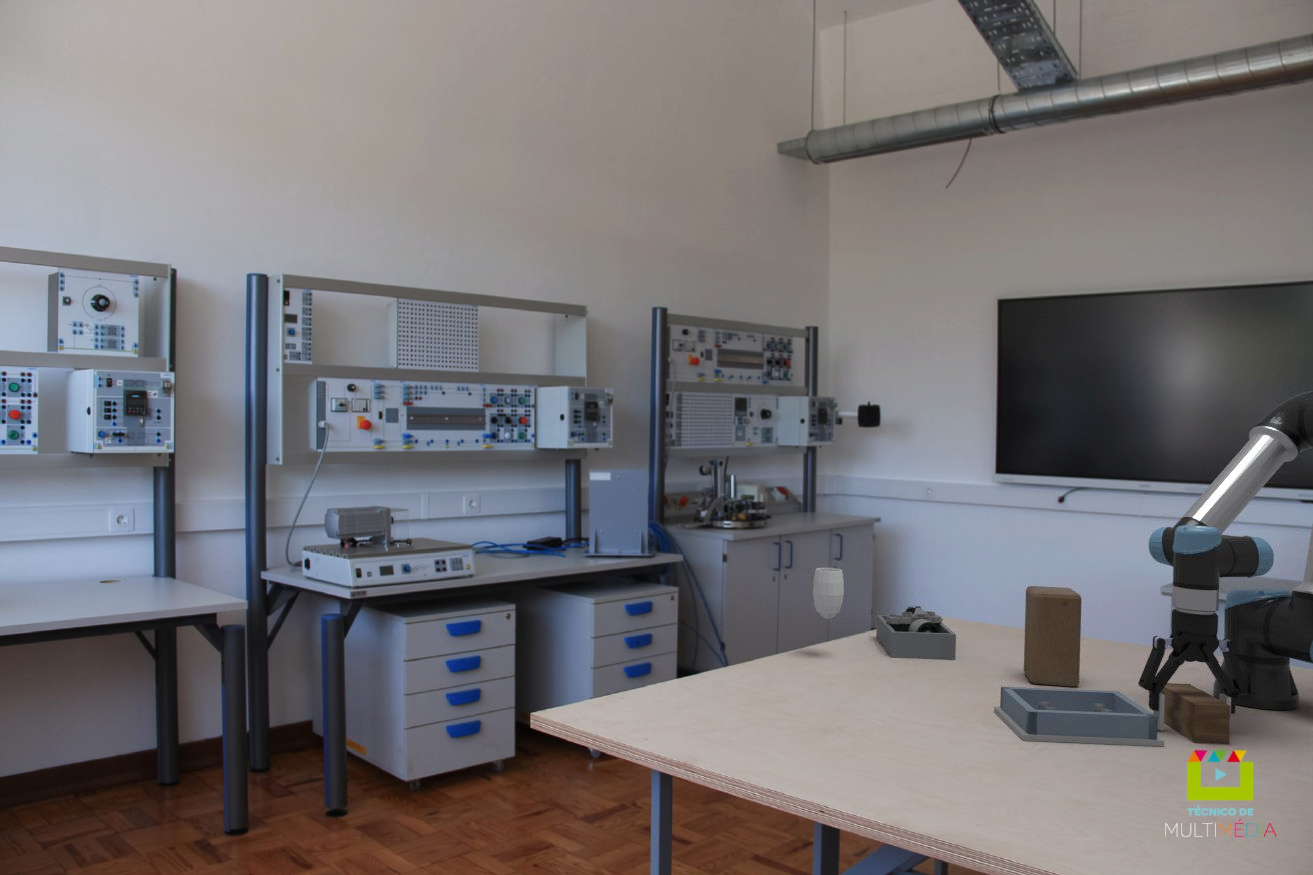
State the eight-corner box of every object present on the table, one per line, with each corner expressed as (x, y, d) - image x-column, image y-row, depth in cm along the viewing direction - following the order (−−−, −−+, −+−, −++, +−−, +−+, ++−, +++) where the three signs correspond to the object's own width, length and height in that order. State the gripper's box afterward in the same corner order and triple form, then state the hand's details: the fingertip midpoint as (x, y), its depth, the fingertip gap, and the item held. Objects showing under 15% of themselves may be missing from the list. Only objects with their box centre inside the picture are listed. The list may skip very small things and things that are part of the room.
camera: (897, 652, 239) (898, 611, 239) (879, 644, 247) (880, 604, 247) (953, 650, 243) (954, 609, 243) (934, 642, 252) (935, 603, 252)
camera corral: (934, 640, 256) (935, 617, 256) (955, 659, 234) (956, 634, 234) (876, 637, 257) (876, 614, 257) (891, 657, 235) (891, 632, 235)
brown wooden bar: (1156, 718, 189) (1157, 682, 189) (1188, 720, 188) (1189, 683, 188) (1194, 743, 174) (1195, 704, 174) (1229, 745, 173) (1230, 705, 173)
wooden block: (1080, 688, 210) (1082, 594, 210) (1030, 684, 212) (1033, 591, 212) (1070, 676, 220) (1072, 587, 220) (1022, 673, 222) (1025, 584, 222)
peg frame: (1121, 716, 189) (1122, 690, 189) (1164, 746, 171) (1164, 717, 171) (994, 711, 191) (994, 685, 191) (1023, 740, 173) (1023, 711, 173)
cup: (846, 656, 235) (849, 569, 235) (835, 661, 229) (837, 572, 228) (818, 651, 239) (820, 566, 238) (806, 657, 232) (808, 569, 232)
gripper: (1249, 608, 184) (1246, 726, 184) (1120, 604, 185) (1117, 720, 185) (1272, 616, 176) (1268, 738, 177) (1137, 611, 178) (1134, 732, 178)
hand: (1191, 729), depth 181 cm, fingers open, 11 cm apart
